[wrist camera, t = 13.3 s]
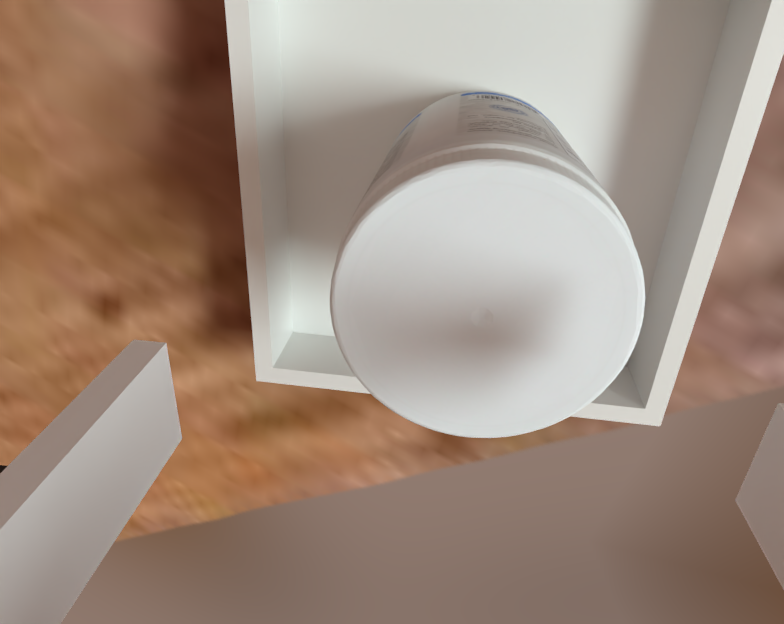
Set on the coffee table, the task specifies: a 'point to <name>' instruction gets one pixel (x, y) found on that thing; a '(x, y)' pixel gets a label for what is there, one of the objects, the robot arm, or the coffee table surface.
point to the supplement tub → (486, 274)
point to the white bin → (513, 77)
